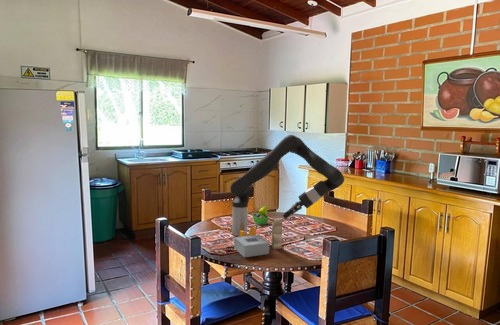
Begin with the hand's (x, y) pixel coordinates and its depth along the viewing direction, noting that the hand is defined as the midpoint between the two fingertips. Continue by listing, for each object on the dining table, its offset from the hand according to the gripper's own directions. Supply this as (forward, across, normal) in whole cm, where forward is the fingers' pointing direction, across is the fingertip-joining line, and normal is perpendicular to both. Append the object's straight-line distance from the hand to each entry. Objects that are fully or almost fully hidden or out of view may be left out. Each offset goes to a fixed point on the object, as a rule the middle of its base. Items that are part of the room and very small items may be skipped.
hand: (284, 216), depth 185 cm
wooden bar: (+16, -9, +11) cm, 21 cm away
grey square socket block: (+26, -1, +4) cm, 26 cm away
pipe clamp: (+28, -17, 0) cm, 33 cm away
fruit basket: (+25, -55, -3) cm, 60 cm away
